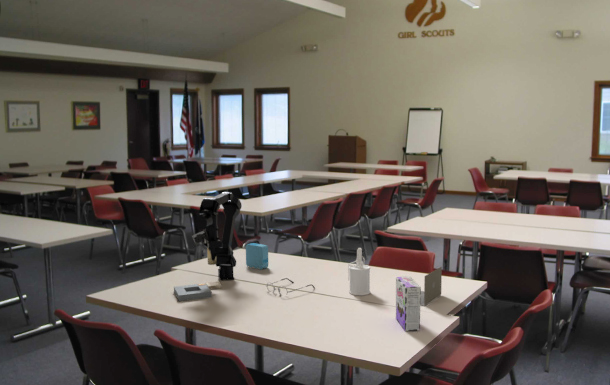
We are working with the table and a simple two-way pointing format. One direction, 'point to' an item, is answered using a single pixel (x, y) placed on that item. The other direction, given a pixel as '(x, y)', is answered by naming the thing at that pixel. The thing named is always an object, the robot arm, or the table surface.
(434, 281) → the laptop
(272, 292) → the eyeglasses
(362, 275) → the white squeeze bottle
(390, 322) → the table surface
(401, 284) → the candy box
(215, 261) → the brass peg
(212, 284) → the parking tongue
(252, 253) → the data package
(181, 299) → the hole plate
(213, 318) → the table surface
